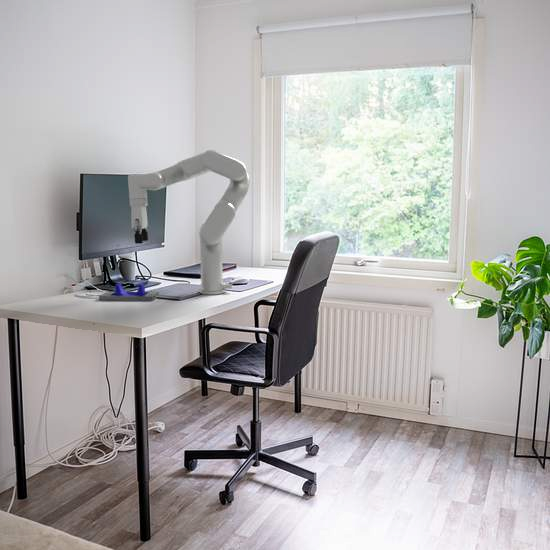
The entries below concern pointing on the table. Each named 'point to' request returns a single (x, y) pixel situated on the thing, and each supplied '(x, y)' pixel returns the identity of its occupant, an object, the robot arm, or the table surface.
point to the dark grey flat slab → (128, 297)
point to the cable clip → (122, 293)
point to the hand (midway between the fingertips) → (141, 242)
